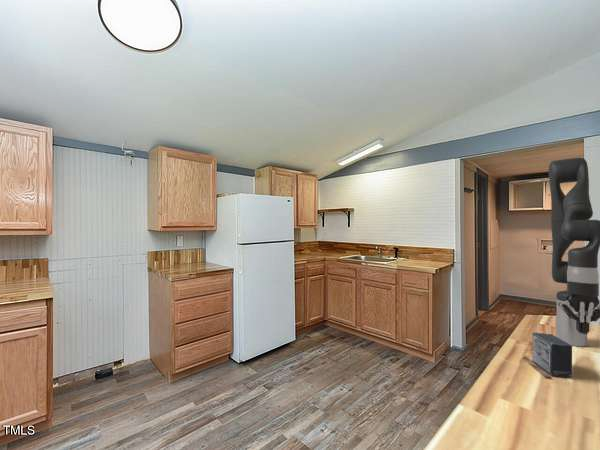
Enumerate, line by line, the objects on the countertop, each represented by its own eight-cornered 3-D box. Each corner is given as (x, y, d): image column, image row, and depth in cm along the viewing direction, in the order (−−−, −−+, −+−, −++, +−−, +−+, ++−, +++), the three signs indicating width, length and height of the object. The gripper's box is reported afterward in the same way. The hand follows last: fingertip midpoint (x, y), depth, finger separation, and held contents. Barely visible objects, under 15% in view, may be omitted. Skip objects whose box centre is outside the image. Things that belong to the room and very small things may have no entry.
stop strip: (522, 358, 106) (522, 356, 106) (527, 358, 105) (527, 357, 105) (545, 378, 92) (545, 376, 92) (551, 378, 92) (551, 376, 92)
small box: (574, 378, 92) (574, 345, 92) (550, 376, 93) (550, 343, 93) (552, 363, 102) (552, 333, 102) (531, 361, 103) (531, 332, 103)
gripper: (597, 279, 98) (598, 331, 98) (551, 277, 101) (552, 327, 101) (616, 283, 91) (616, 339, 90) (566, 281, 94) (566, 335, 93)
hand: (582, 333), depth 96 cm, fingers closed
